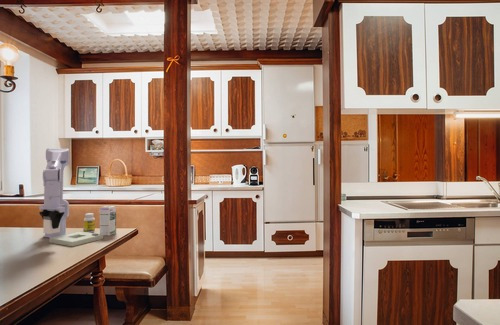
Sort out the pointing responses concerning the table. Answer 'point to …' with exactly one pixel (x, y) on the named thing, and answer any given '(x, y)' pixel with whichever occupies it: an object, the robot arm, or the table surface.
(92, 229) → the supplement bottle
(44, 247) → the table surface
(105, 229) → the syrup box
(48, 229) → the plug
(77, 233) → the socket block
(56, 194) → the robot arm
